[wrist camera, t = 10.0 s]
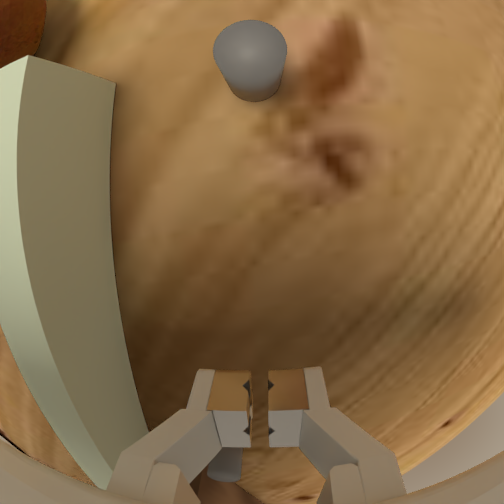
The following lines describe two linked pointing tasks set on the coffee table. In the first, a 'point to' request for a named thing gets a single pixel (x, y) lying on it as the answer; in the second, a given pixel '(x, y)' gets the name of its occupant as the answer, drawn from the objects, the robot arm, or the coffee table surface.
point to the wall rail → (85, 245)
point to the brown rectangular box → (219, 491)
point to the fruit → (20, 28)
